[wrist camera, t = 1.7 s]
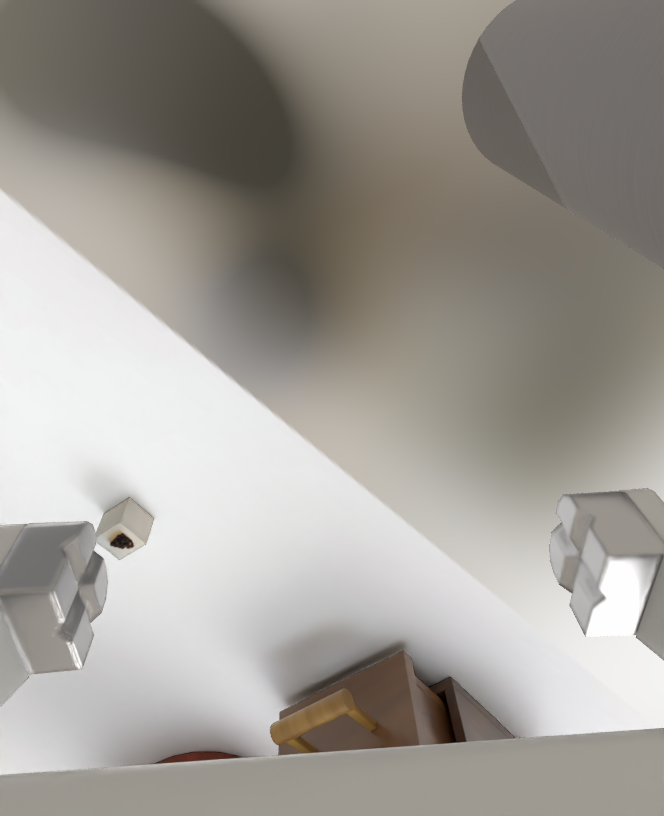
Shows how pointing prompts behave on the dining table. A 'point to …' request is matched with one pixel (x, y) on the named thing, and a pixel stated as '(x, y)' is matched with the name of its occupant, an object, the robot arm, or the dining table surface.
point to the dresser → (468, 715)
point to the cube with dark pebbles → (124, 529)
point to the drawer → (366, 713)
